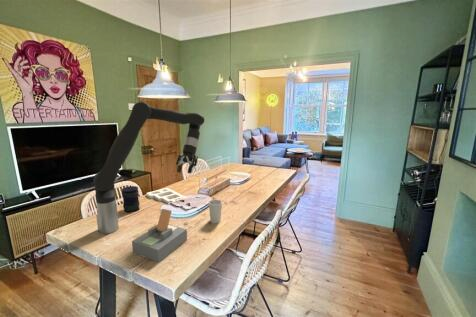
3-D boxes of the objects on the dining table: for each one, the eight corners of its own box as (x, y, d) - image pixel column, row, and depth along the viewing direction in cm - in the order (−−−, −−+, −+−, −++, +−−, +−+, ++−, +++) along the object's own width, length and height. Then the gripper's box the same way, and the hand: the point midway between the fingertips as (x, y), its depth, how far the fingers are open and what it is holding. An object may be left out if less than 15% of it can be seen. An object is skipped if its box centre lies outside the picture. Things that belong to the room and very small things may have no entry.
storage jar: (120, 210, 152) (118, 189, 149) (133, 205, 161) (131, 185, 158) (130, 214, 148) (128, 192, 145) (143, 208, 156) (141, 187, 153)
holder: (198, 207, 161) (198, 203, 160) (175, 215, 148) (174, 211, 148) (167, 190, 192) (167, 187, 192) (146, 196, 180) (146, 192, 180)
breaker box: (163, 232, 126) (162, 217, 124) (187, 239, 119) (186, 223, 117) (132, 252, 108) (131, 235, 106) (158, 262, 101) (157, 243, 100)
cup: (222, 217, 144) (222, 199, 142) (221, 223, 137) (221, 204, 134) (209, 217, 144) (209, 199, 142) (208, 223, 136) (208, 204, 134)
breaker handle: (158, 232, 114) (164, 208, 117) (166, 234, 112) (171, 210, 114) (155, 232, 113) (161, 208, 115) (163, 235, 110) (169, 210, 113)
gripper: (177, 144, 137) (170, 170, 133) (195, 143, 129) (188, 171, 125) (186, 148, 143) (180, 173, 139) (203, 148, 135) (197, 175, 131)
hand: (183, 172), depth 132 cm, fingers open, 8 cm apart
